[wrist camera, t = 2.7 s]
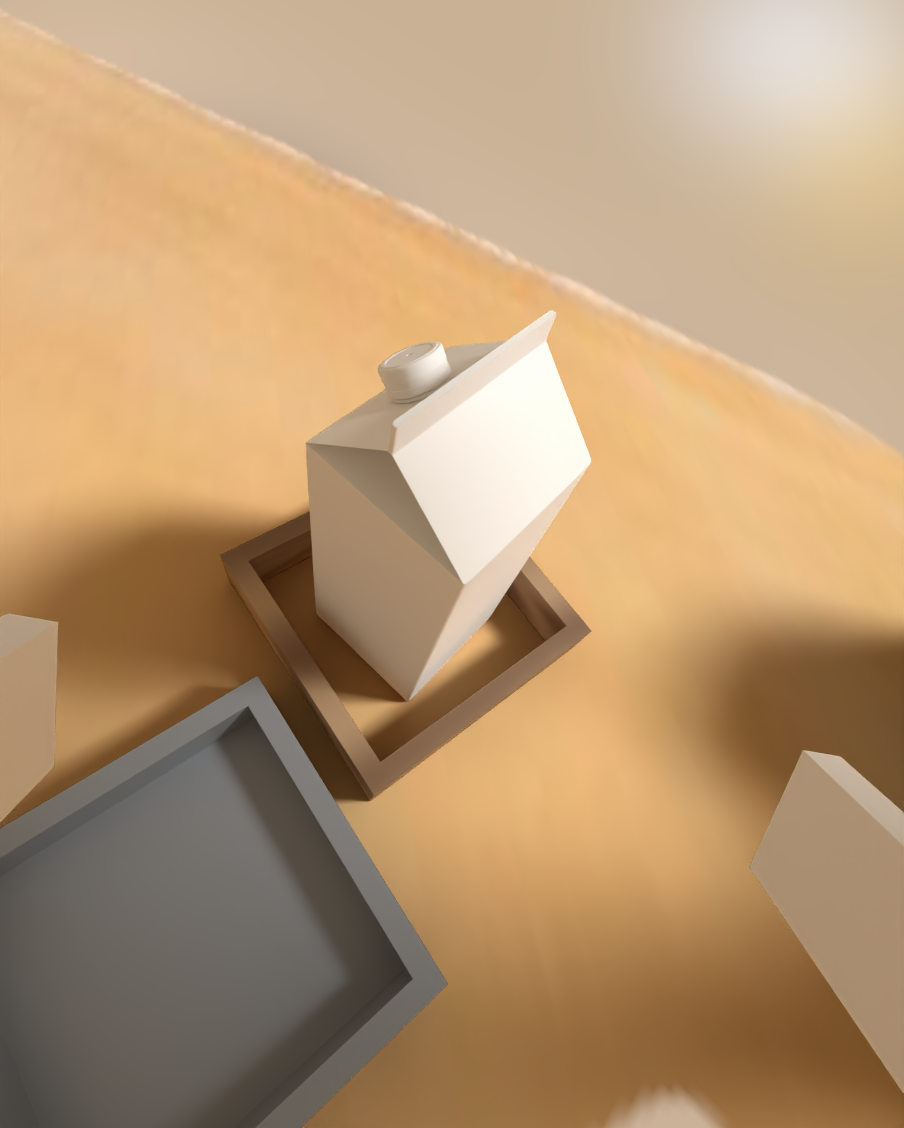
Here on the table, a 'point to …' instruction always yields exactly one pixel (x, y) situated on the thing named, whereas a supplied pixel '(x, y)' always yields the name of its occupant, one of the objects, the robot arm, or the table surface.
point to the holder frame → (247, 577)
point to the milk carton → (438, 497)
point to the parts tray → (197, 938)
